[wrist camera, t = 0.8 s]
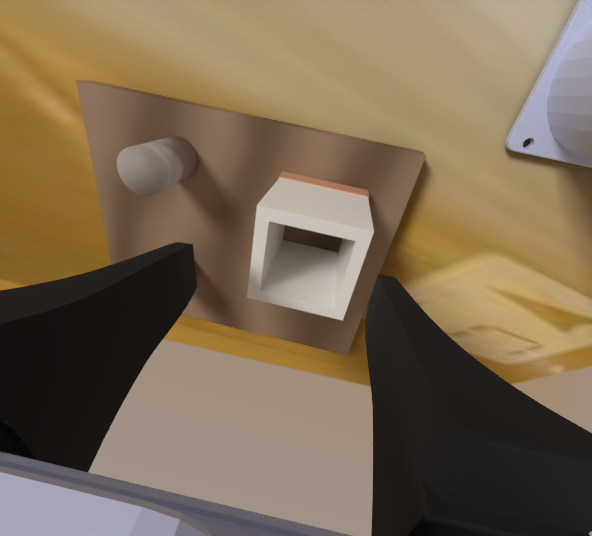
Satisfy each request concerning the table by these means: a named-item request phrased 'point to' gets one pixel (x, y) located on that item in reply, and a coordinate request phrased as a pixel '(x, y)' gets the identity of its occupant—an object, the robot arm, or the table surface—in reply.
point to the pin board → (232, 198)
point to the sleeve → (306, 259)
